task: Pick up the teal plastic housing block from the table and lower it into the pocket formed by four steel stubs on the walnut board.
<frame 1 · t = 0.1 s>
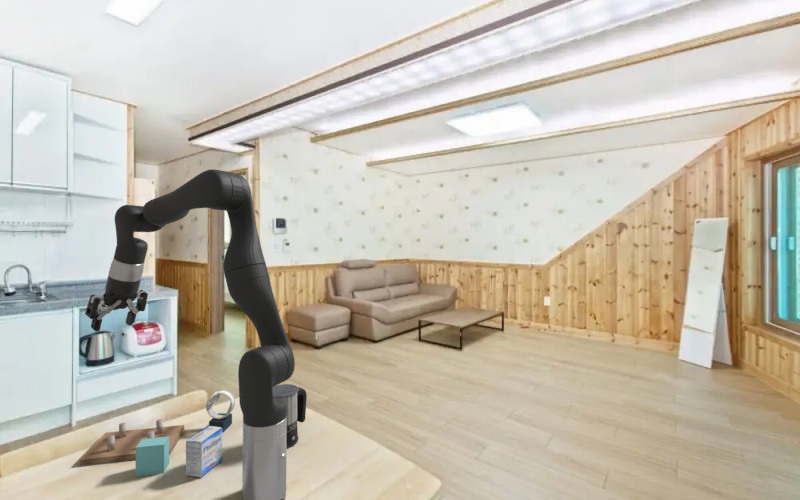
hand: (112, 327, 109), 31 cm above the table, tool tilted 20°, fingers open, 8 cm apart
milk frother: (274, 437, 111), on the table
housing block: (152, 470, 94), on the table
stub board: (136, 446, 105), on the table
watch: (220, 428, 116), on the table
medicine box: (204, 468, 96), on the table
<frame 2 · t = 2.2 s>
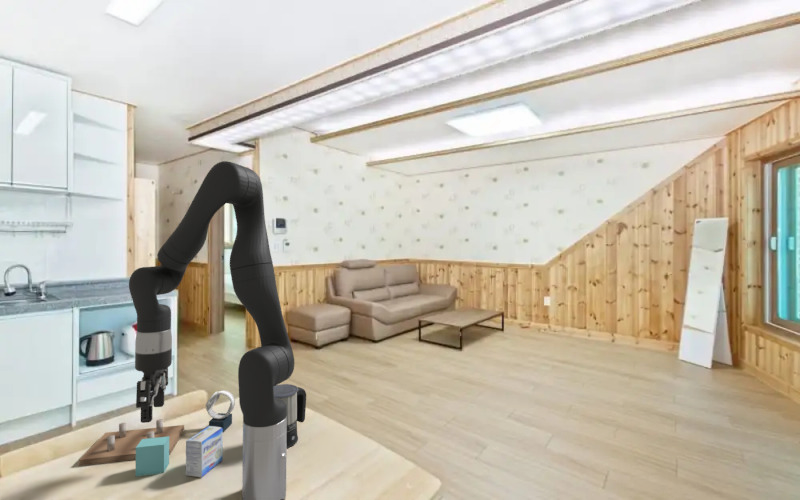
hand: (153, 413, 94), 14 cm above the table, tool pointing down, fingers open, 8 cm apart
nothing on the table moved.
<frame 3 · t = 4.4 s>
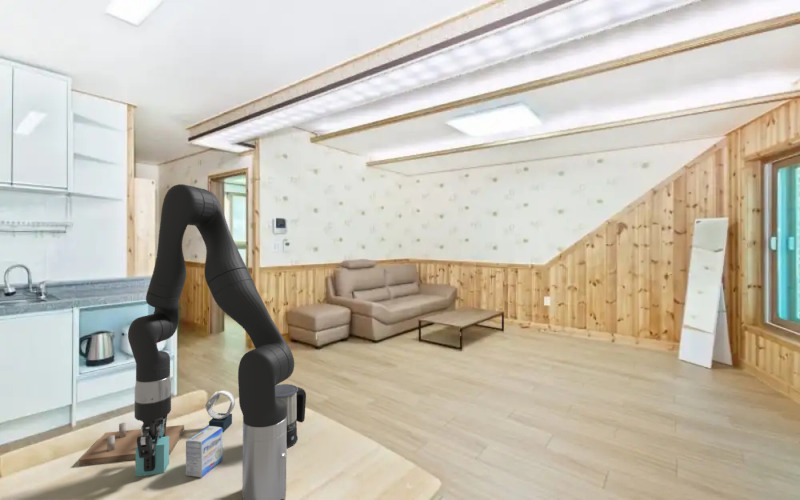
hand: (152, 464, 94), 1 cm above the table, tool pointing down, fingers closed on housing block, 4 cm apart
housing block: (152, 469, 94), on the table, touching gripper
everything else where it was.
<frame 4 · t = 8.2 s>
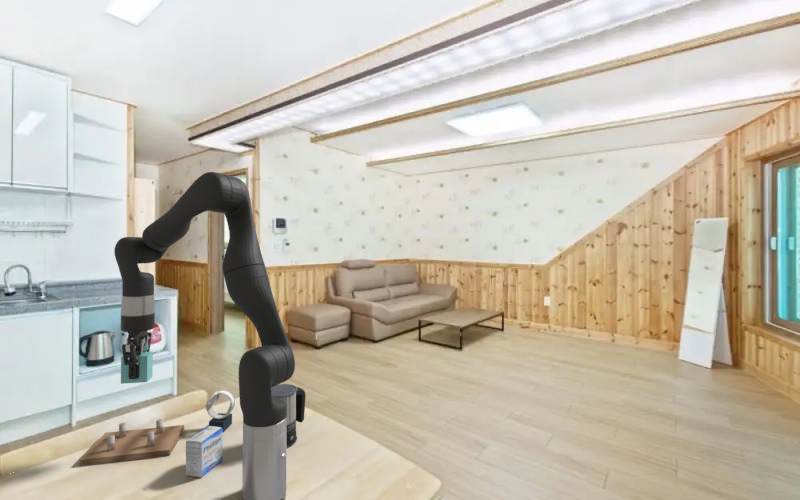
hand: (137, 375, 103), 20 cm above the table, tool pointing down, fingers closed on housing block, 4 cm apart
housing block: (137, 380, 103), point 19 cm above the table, touching gripper
everything else where it was.
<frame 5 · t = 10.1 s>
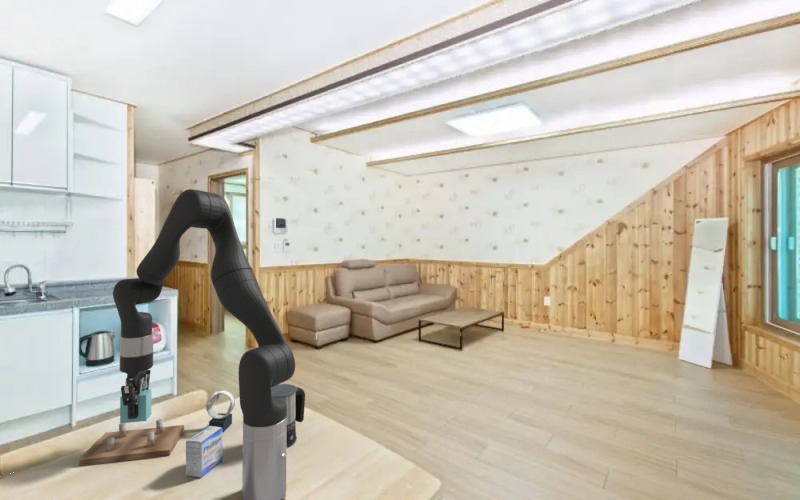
hand: (136, 414, 104), 9 cm above the table, tool pointing down, fingers closed on housing block, 4 cm apart
housing block: (136, 418, 104), point 8 cm above the table, touching gripper
everything else where it was.
when the fingers open (4 cm above the table, at t = 11.9 s): housing block stays where it is, resting on stub board.
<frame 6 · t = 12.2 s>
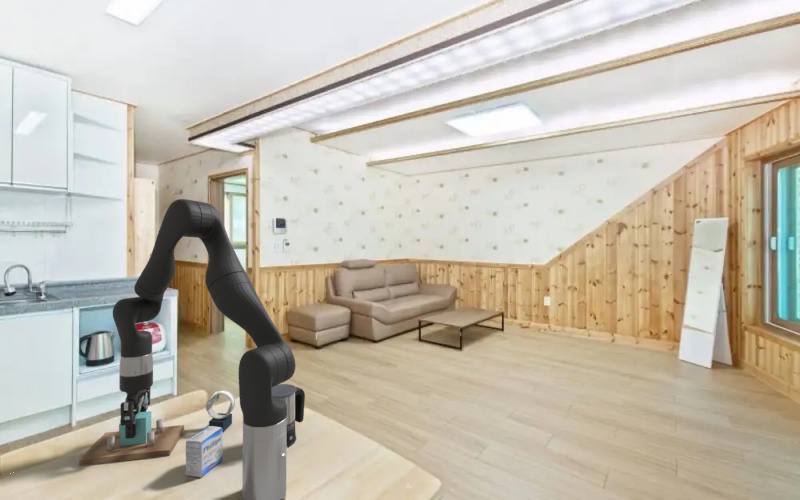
hand: (136, 430, 105), 4 cm above the table, tool pointing down, fingers open, 7 cm apart
housing block: (136, 441, 105), point 1 cm above the table, touching stub board
everything else where it was.
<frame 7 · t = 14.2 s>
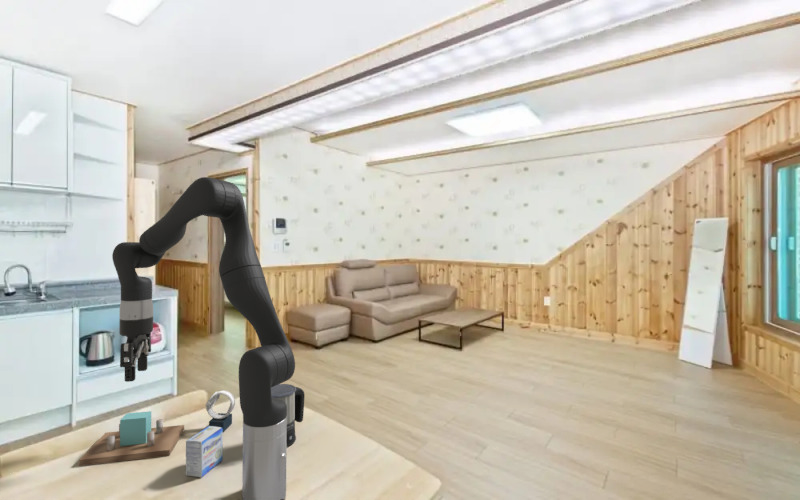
hand: (136, 375, 104), 19 cm above the table, tool pointing down, fingers open, 8 cm apart
nothing on the table moved.
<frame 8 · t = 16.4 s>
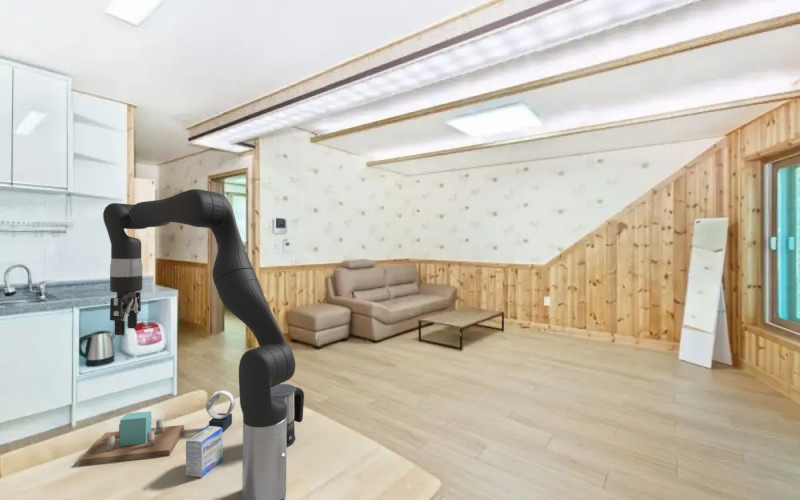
hand: (126, 331, 109), 30 cm above the table, tool pointing down, fingers open, 8 cm apart
nothing on the table moved.
at the end: housing block 0.1 cm off-centre on the stub board, point 1.5 cm above the stub board's base; housing block tilted 0°; the gripper is holding nothing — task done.
